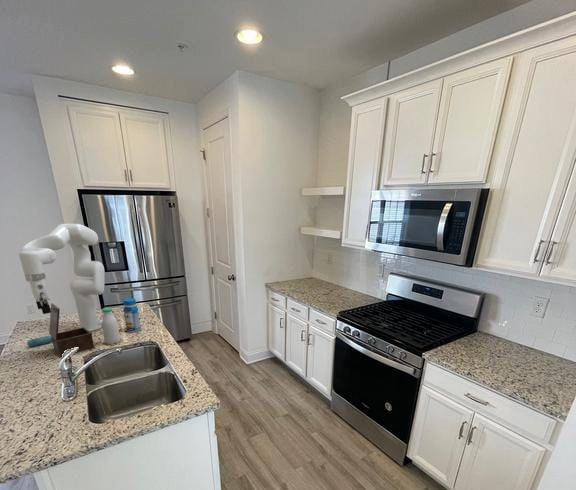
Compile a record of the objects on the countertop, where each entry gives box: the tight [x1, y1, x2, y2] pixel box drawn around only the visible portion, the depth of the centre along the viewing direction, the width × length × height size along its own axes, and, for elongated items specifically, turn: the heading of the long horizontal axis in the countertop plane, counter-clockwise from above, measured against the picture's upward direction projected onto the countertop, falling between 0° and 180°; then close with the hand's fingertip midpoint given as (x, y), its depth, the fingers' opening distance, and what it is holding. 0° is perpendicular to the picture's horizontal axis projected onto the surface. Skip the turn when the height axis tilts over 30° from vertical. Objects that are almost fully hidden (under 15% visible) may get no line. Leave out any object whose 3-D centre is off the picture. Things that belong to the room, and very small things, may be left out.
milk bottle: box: [101, 307, 121, 345], centre depth 174 cm, size 8×8×20 cm
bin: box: [50, 327, 95, 358], centre depth 166 cm, size 16×13×9 cm
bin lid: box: [48, 302, 61, 341], centre depth 156 cm, size 16×13×5 cm
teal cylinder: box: [27, 335, 52, 348], centre depth 171 cm, size 11×4×4 cm, turn 138°
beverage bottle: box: [122, 297, 142, 333], centre depth 192 cm, size 8×8×20 cm
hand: (44, 310), depth 154 cm, fingers open, 9 cm apart
